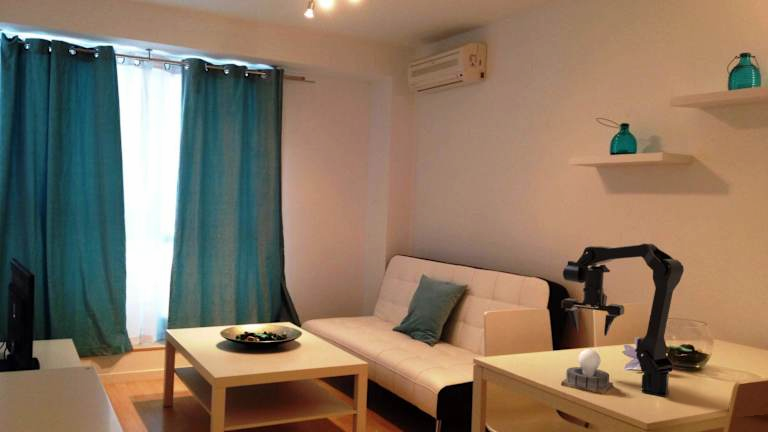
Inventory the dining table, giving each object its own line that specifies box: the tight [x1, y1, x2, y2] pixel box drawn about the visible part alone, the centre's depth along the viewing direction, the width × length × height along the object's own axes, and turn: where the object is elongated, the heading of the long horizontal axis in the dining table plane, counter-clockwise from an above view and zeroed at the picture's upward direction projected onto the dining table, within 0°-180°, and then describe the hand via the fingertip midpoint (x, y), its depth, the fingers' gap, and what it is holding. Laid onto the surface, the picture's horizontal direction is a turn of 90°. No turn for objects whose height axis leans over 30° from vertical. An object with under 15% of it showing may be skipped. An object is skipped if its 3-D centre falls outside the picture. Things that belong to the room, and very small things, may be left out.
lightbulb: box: [578, 348, 601, 376], centre depth 199 cm, size 6×6×11 cm
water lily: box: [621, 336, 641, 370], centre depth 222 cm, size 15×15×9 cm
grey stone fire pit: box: [560, 366, 614, 394], centre depth 199 cm, size 12×12×4 cm
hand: (591, 333), depth 213 cm, fingers open, 9 cm apart
